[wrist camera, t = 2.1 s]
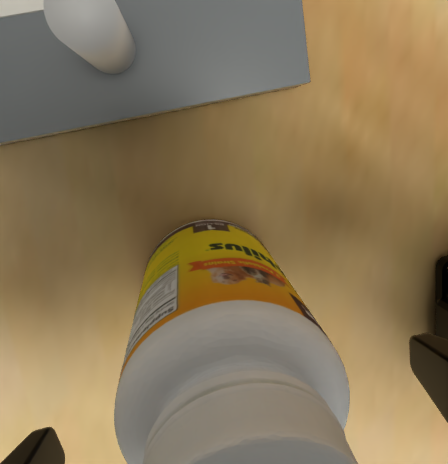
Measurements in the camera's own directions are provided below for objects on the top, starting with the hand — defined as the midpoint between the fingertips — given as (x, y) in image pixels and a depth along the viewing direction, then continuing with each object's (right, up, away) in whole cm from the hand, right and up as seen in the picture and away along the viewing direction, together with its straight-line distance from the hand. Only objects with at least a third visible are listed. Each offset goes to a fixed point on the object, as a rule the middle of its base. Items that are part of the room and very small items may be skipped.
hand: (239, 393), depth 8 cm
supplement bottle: (-1, +2, +7) cm, 8 cm away
